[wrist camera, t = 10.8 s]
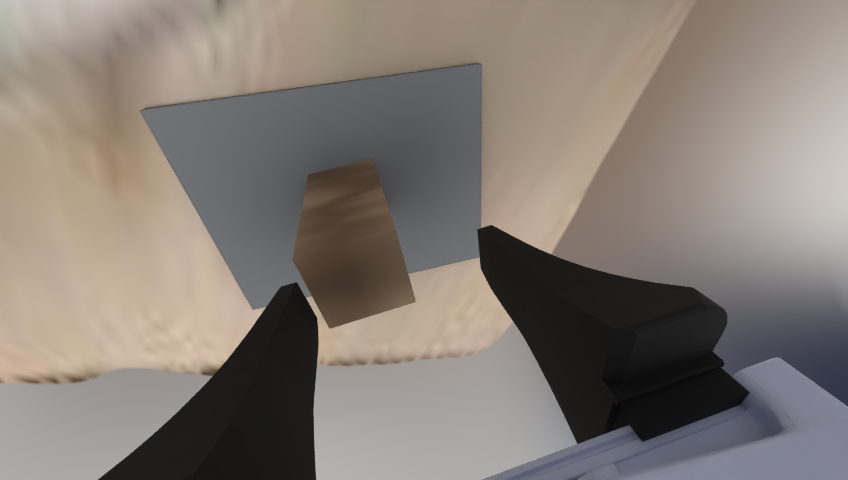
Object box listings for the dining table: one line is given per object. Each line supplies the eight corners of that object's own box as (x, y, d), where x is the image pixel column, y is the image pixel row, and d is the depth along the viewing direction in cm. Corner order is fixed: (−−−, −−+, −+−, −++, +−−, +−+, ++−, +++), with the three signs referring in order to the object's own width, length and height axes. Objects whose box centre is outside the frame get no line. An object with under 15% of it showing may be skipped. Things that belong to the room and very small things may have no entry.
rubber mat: (477, 63, 19) (481, 63, 18) (477, 252, 26) (480, 256, 26) (145, 108, 16) (139, 110, 15) (254, 304, 24) (252, 309, 23)
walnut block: (372, 158, 19) (395, 229, 12) (387, 213, 22) (415, 301, 14) (308, 174, 19) (292, 259, 12) (331, 229, 21) (329, 328, 14)
